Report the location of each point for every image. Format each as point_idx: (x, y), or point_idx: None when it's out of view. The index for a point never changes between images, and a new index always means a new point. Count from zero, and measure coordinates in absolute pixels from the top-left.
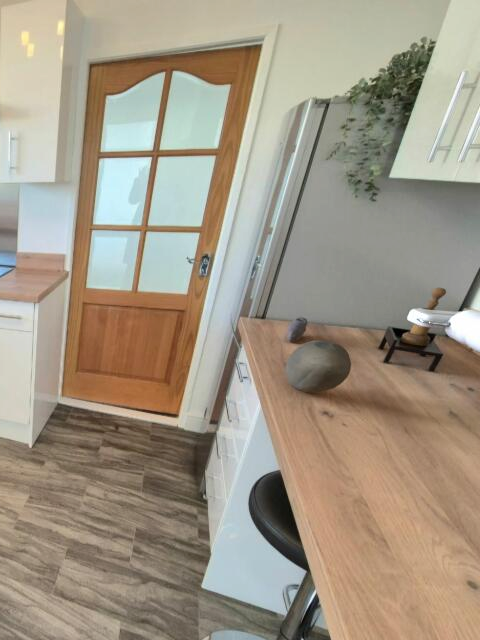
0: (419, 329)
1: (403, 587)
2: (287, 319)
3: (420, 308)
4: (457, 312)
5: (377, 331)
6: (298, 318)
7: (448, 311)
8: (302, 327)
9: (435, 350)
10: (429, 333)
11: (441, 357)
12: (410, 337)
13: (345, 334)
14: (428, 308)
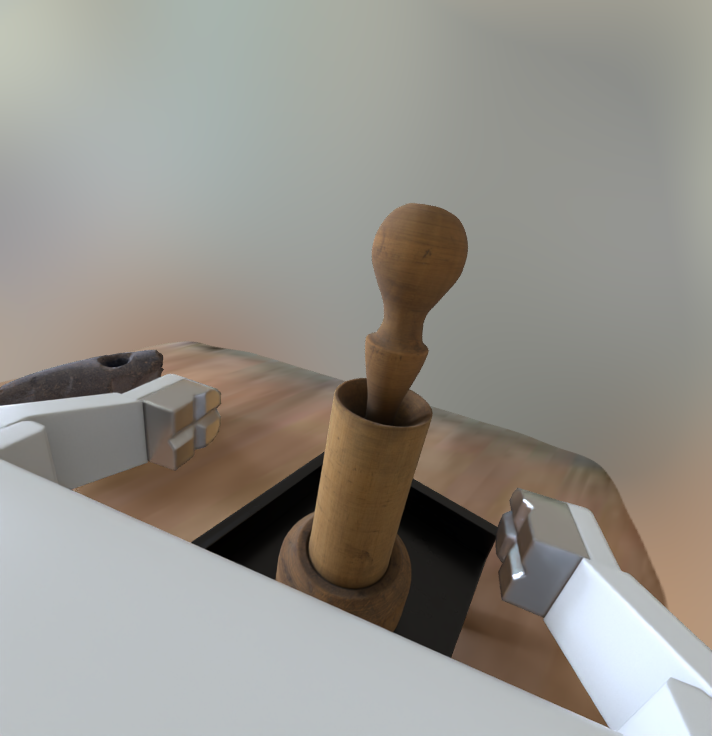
0: (322, 535)
1: None
2: (272, 359)
3: (161, 379)
4: (231, 720)
5: (437, 427)
6: (129, 352)
7: (82, 585)
8: (59, 387)
9: None
10: (469, 521)
11: None
12: (278, 575)
13: (326, 426)
14: (368, 389)
